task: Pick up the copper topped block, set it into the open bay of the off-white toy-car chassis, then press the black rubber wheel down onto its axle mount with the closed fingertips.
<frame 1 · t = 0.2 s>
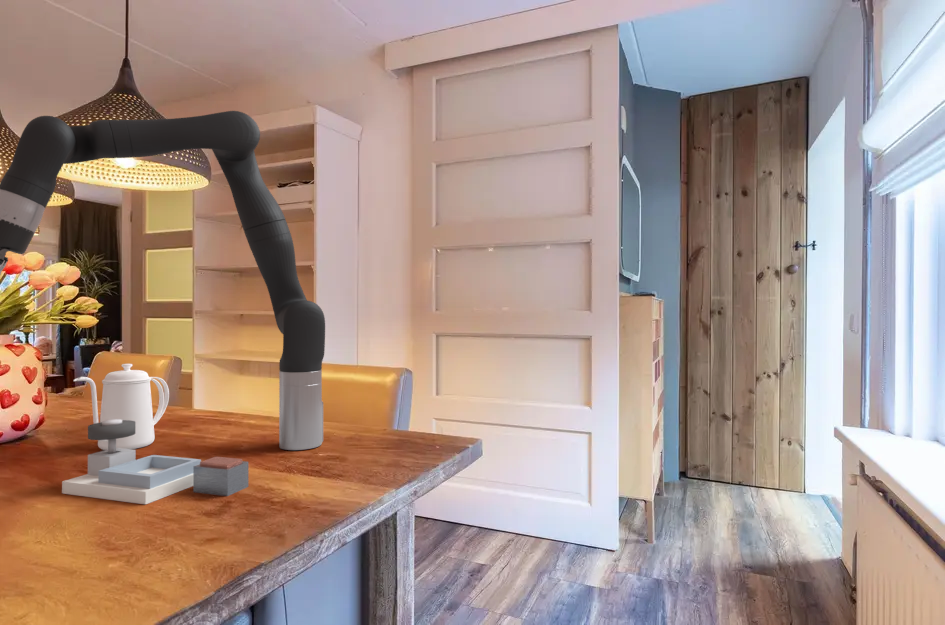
chassis: (138, 486, 93), on the table
coffeepot: (125, 447, 121), on the table
wheel: (112, 437, 95), point 8 cm above the table, slide at 3.0 cm
copper topped block: (221, 490, 91), on the table
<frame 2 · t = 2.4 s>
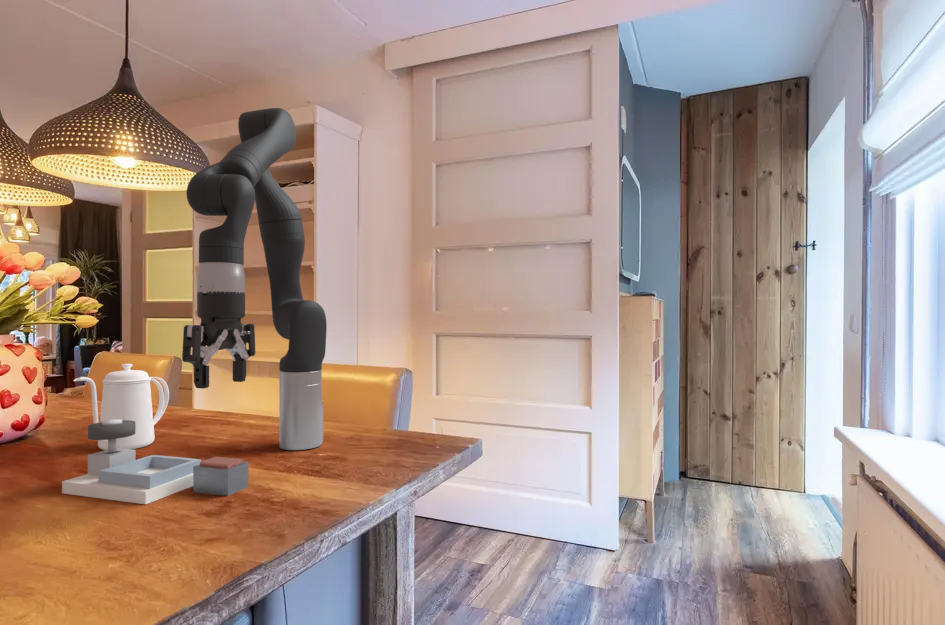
hand: (221, 384, 91), 18 cm above the table, tool pointing down, fingers open, 8 cm apart
nothing on the table moved.
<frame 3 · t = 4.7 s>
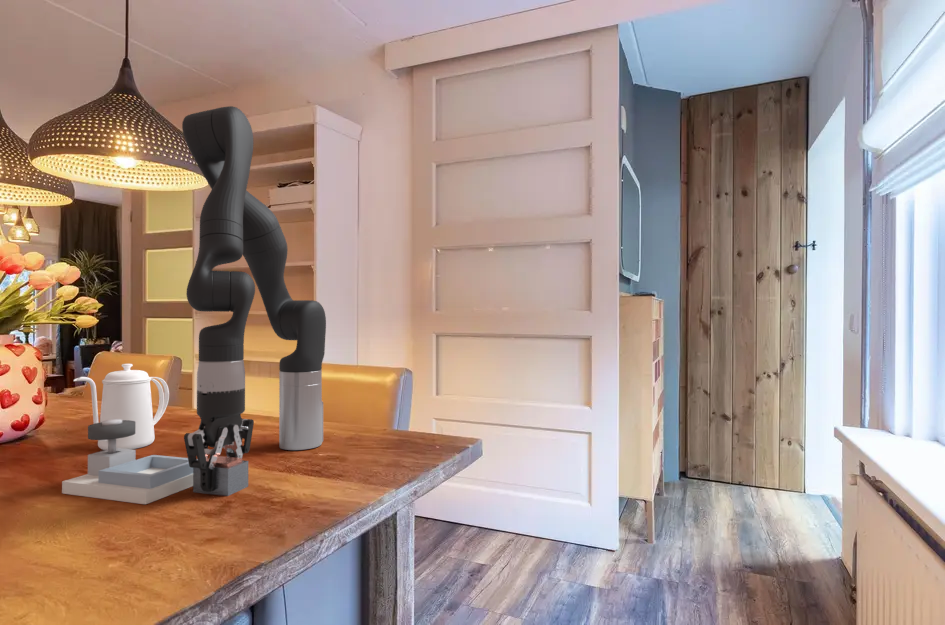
hand: (220, 485, 91), 1 cm above the table, tool pointing down, fingers closed on copper topped block, 5 cm apart
copper topped block: (221, 489, 91), on the table, touching gripper
everything else where it was.
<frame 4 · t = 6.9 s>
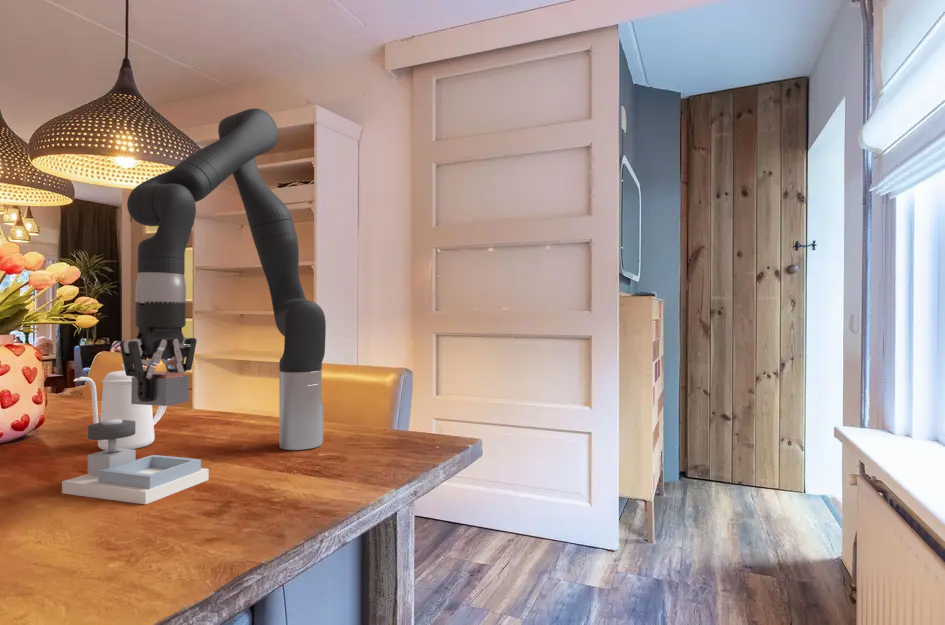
hand: (160, 398, 92), 16 cm above the table, tool pointing down, fingers closed on copper topped block, 5 cm apart
copper topped block: (160, 402, 92), point 15 cm above the table, touching gripper
everything else where it was.
when the fingers open (4 cm above the table, at t = 9.6 s): copper topped block drops 1 cm, resting on chassis.
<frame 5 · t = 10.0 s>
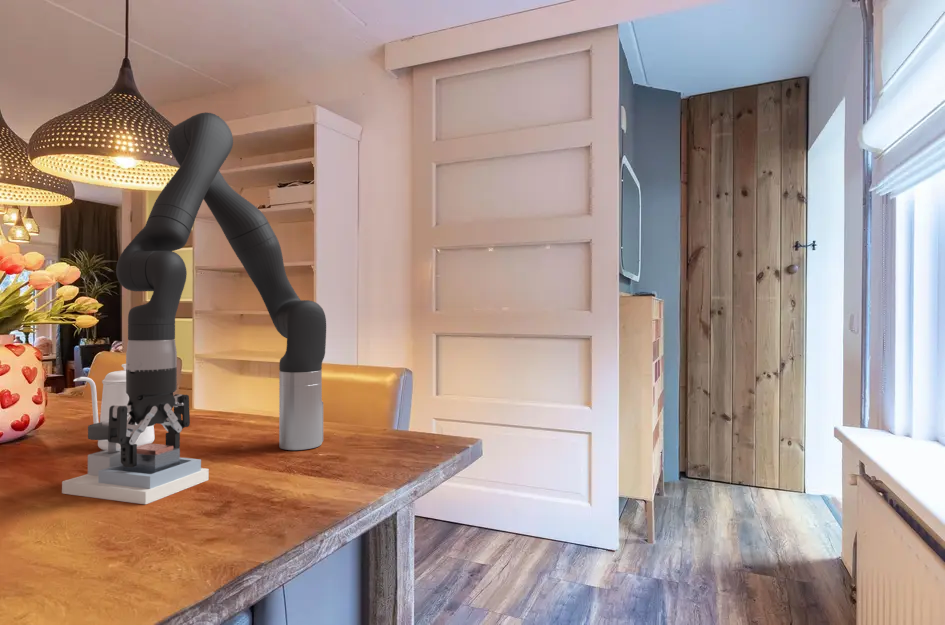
hand: (151, 459, 92), 5 cm above the table, tool pointing down, fingers open, 8 cm apart
copper topped block: (151, 476, 92), point 2 cm above the table, touching chassis
everything else where it was.
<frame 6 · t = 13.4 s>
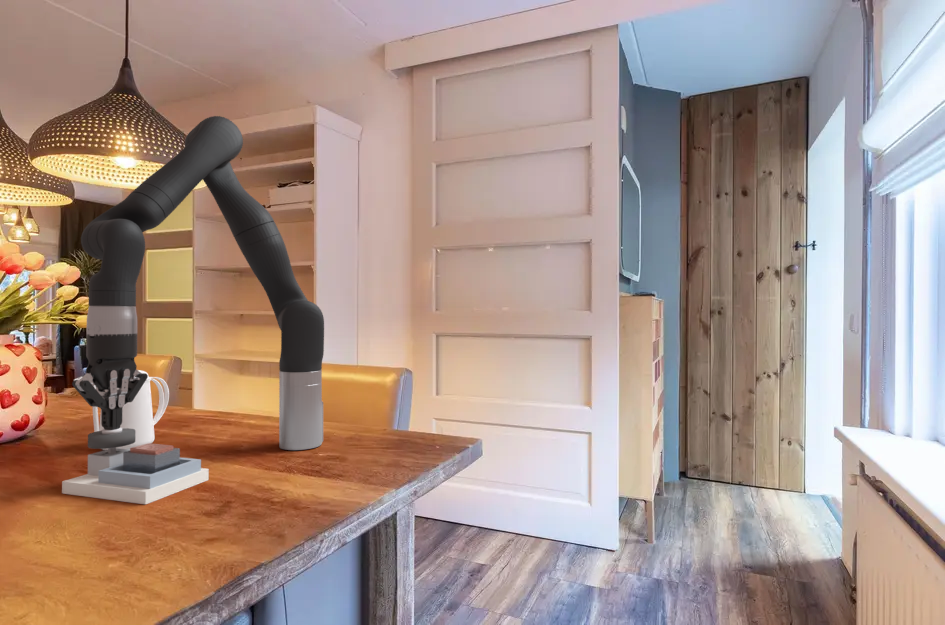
hand: (111, 429, 95), 10 cm above the table, tool pointing down, fingers closed
wheel: (112, 445, 95), point 7 cm above the table, slide at 1.5 cm, touching gripper
everything else where it was.
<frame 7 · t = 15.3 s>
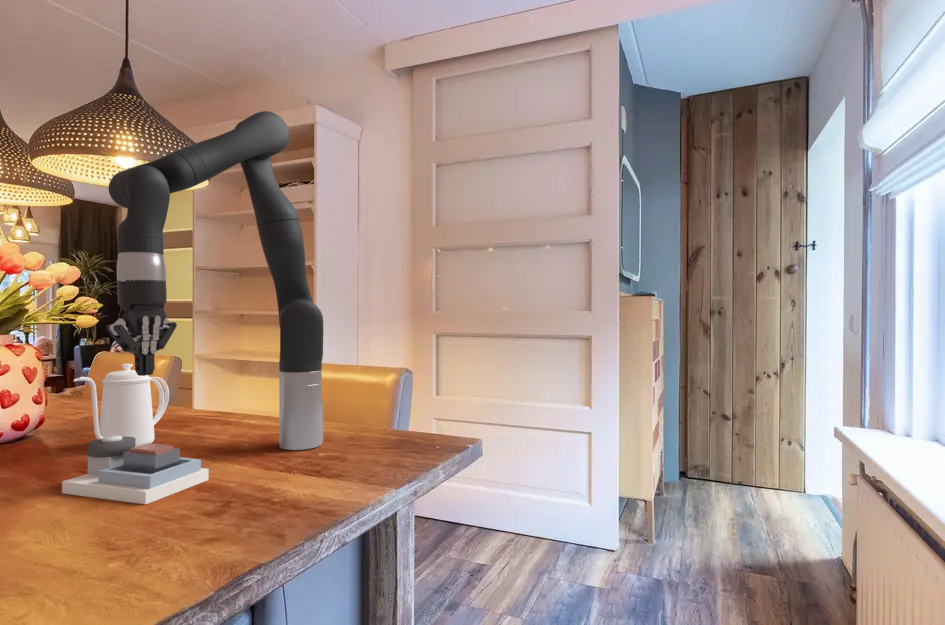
hand: (144, 375, 96), 19 cm above the table, tool pointing down, fingers closed
wheel: (112, 454, 95), point 5 cm above the table, slide at 0.0 cm, touching chassis
everything else where it was.
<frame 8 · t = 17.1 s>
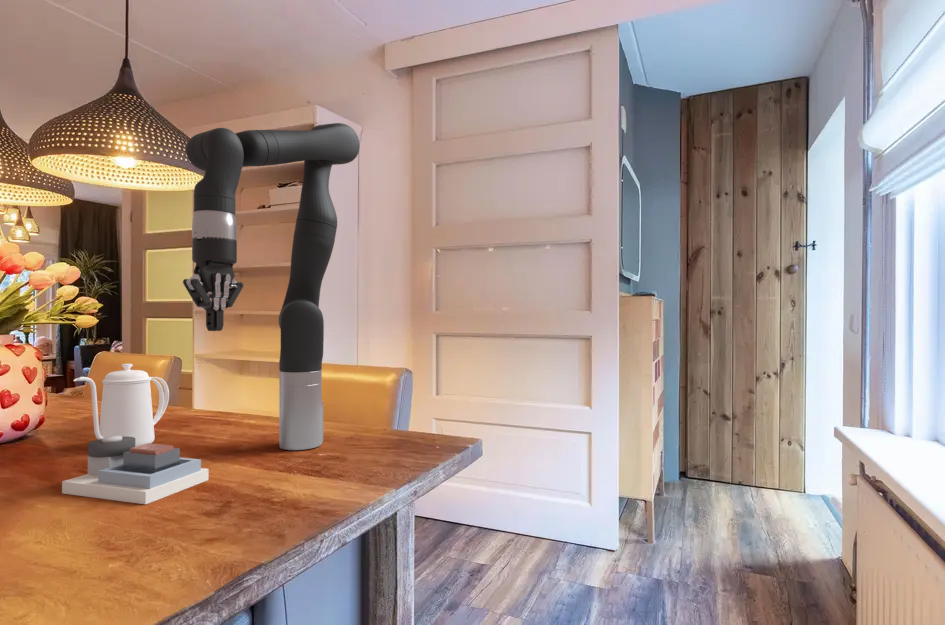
hand: (214, 330, 99), 27 cm above the table, tool pointing down, fingers closed
nothing on the table moved.
at the end: copper topped block 0.1 cm from the target spot on the chassis, point 2.0 cm above the chassis's base; copper topped block tilted 0°; wheel slide at 0.0 cm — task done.
